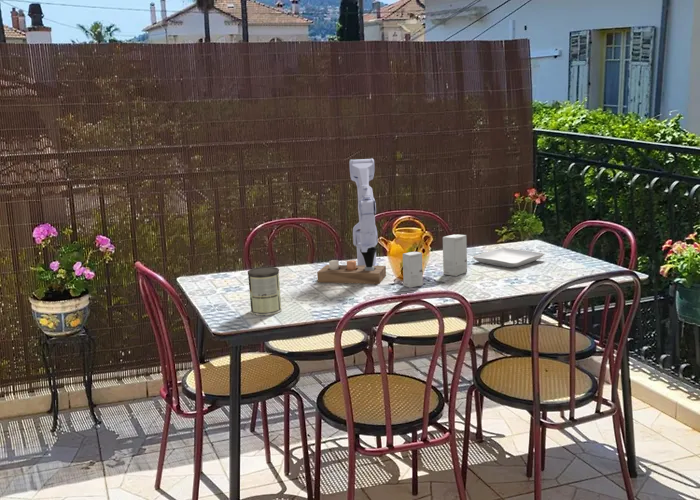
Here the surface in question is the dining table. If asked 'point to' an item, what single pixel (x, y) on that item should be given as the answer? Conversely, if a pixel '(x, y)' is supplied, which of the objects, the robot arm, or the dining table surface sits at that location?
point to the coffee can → (264, 290)
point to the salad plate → (508, 257)
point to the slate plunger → (369, 268)
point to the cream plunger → (334, 265)
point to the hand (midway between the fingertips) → (369, 266)
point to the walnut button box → (351, 275)
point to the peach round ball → (351, 265)
